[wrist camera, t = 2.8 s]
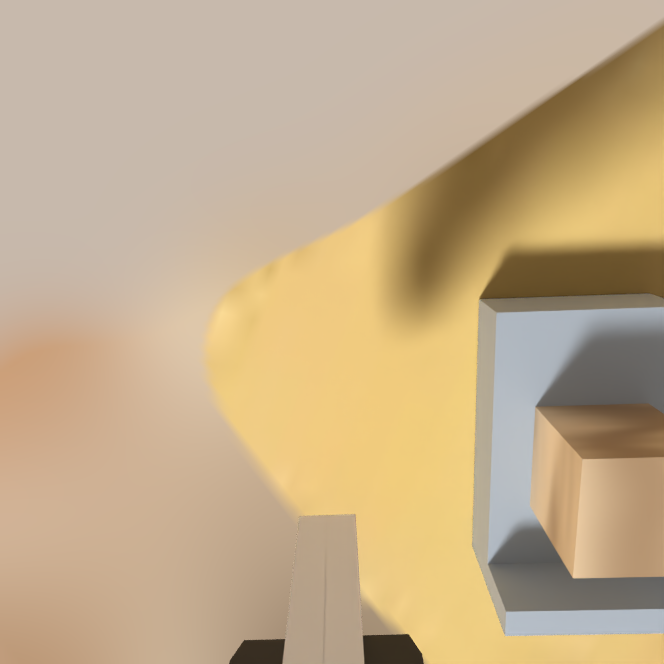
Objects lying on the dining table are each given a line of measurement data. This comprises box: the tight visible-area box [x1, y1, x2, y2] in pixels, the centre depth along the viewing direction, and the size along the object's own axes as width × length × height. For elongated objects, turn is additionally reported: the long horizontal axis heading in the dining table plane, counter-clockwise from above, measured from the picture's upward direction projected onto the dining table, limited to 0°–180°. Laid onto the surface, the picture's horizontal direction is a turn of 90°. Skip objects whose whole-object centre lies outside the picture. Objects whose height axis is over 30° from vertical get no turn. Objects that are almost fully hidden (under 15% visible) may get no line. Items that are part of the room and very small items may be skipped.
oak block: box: [530, 403, 664, 578], centre depth 18 cm, size 4×4×4 cm
